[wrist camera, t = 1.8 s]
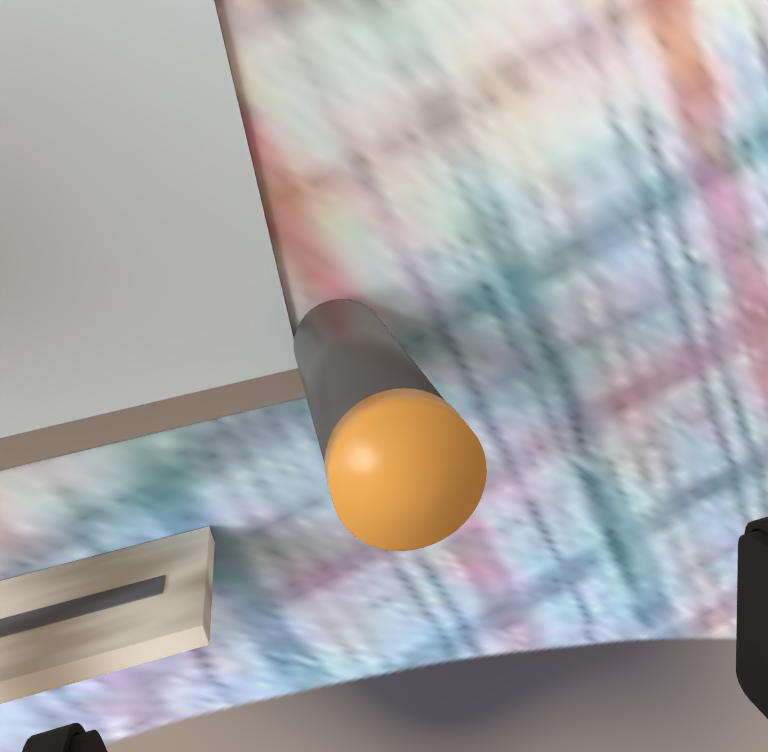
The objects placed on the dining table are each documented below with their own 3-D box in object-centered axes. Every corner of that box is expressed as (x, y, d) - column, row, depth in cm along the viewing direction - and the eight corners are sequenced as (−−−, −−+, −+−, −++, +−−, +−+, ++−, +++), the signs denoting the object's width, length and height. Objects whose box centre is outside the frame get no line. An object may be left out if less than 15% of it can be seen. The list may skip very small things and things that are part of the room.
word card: (209, 524, 27) (202, 623, 22) (214, 542, 27) (209, 644, 22) (-52, 592, 26) (-130, 716, 20) (-42, 610, 26) (-117, 736, 21)
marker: (371, 281, 25) (476, 390, 14) (387, 367, 27) (494, 527, 16) (280, 302, 25) (316, 430, 14) (300, 388, 26) (348, 568, 15)
